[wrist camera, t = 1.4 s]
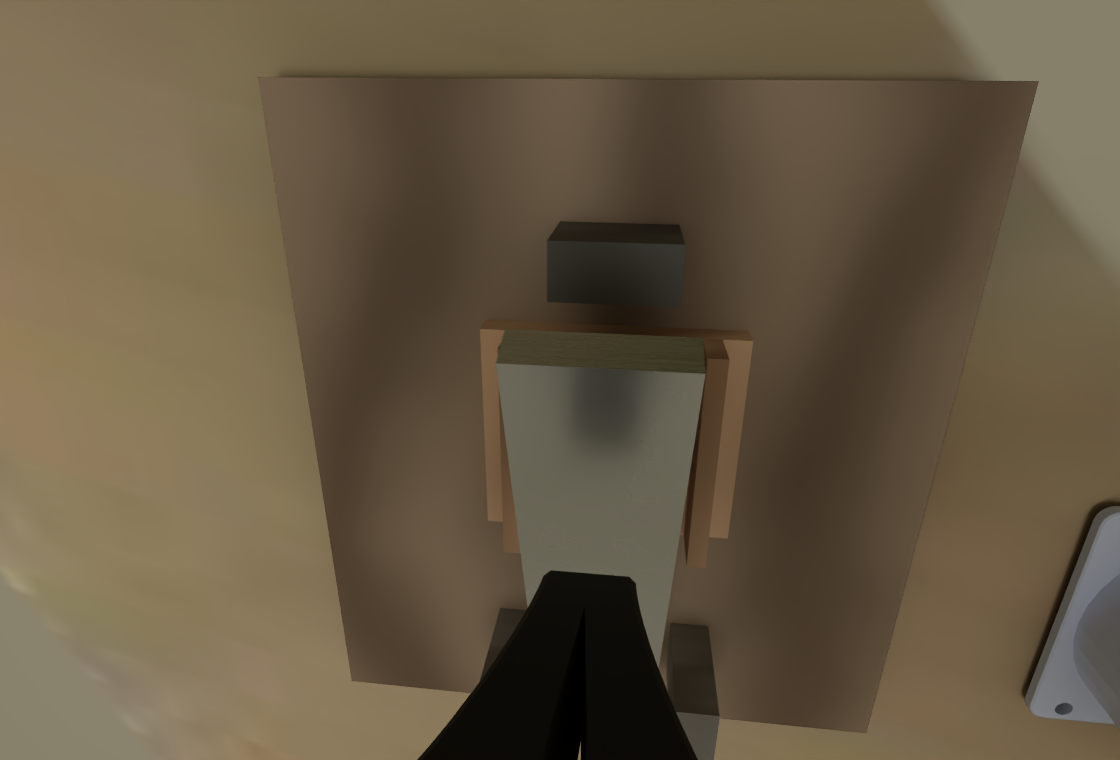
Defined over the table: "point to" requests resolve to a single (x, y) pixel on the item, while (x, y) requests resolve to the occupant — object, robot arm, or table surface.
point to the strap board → (642, 309)
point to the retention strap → (601, 455)
